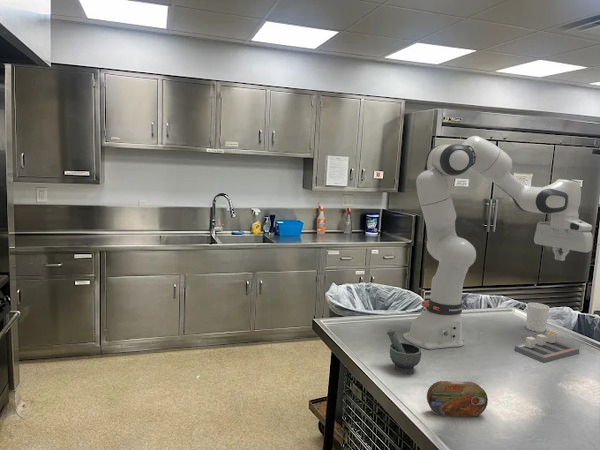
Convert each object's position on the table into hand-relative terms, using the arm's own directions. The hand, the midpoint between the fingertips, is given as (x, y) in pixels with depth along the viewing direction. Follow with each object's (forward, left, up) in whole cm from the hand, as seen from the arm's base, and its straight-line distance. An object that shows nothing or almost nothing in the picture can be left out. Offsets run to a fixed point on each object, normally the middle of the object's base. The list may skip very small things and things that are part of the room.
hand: (559, 260), depth 168 cm
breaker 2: (-13, -4, -29) cm, 32 cm away
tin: (-76, -23, -31) cm, 85 cm away
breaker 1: (-19, -4, -29) cm, 35 cm away
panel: (-13, -7, -31) cm, 34 cm away
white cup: (+6, +10, -31) cm, 33 cm away
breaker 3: (-7, -4, -29) cm, 30 cm away
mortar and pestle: (-71, +3, -31) cm, 78 cm away
